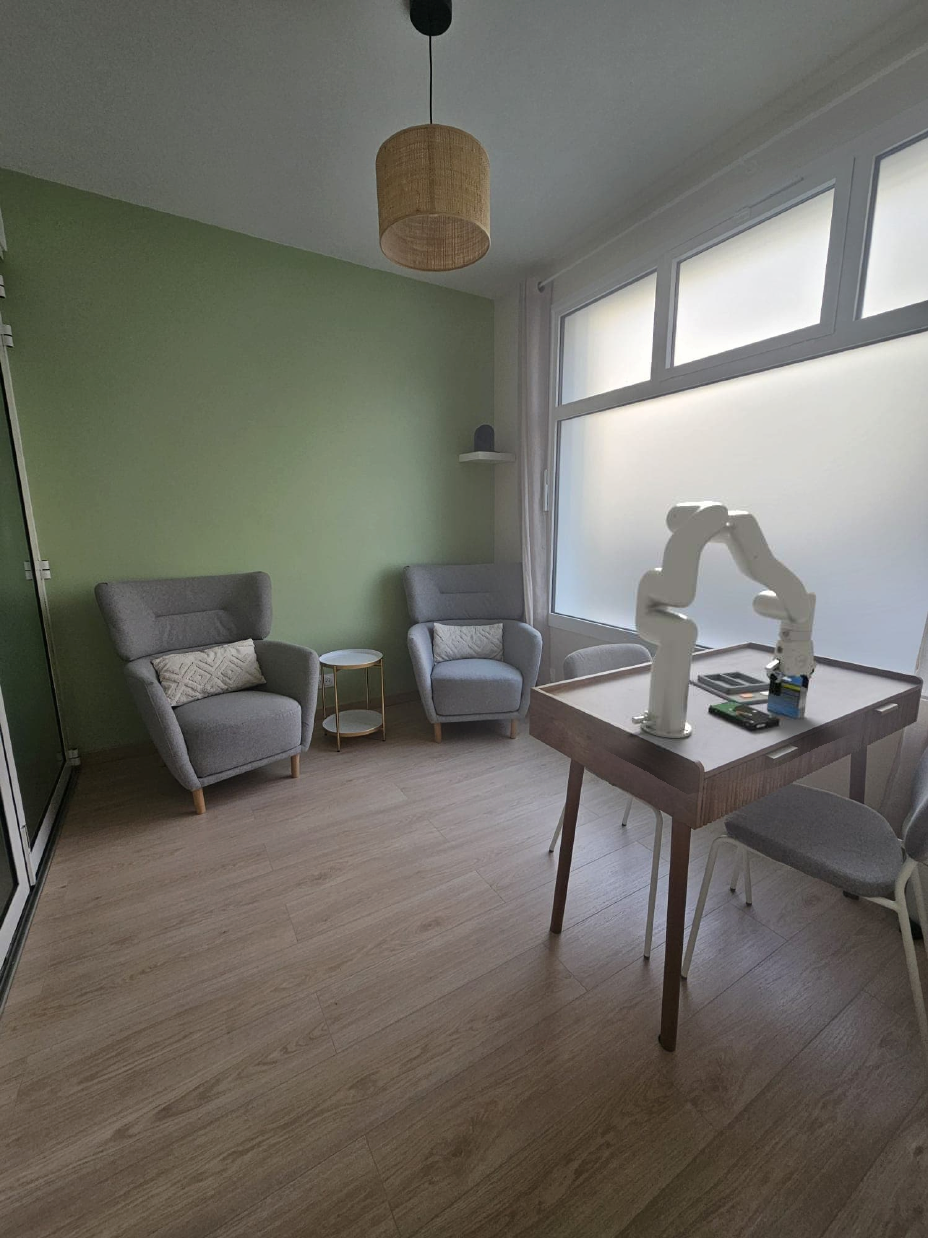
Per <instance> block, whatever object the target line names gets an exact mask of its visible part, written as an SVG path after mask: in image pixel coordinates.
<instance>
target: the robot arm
mask: <svg viewBox="0 0 928 1238" xmlns="http://www.w3.org/2000/svg"><path fill="white" fill-rule="evenodd" d="M665 518H666V519H665V523H666V526H667V527H666V528H668V530H669V531H670V533H671V534H672V535H671V536H670V537H669V539H668V540H667V542H666V544H665V546H664V550H663V557H662V563H661V567H655V568H651V569H649V570H648V571H646V572H645V573H644V574H643V575H642V577H641V579H640V580H639V583H638V586H637V594H636V605H635V607H636V608H635V619H634V620H635V621H634V622H635V623H634V624H635V625H634V627H635V630H636V631H635V632H636V633H637V635H638V636H639V637H640V638H641V639H642V640H645V642H648V643H651V644H653V645H656V646H657V647H658V648H657V650H656V652H655V653H654V656H653V658H652V660H651V666H650V678H649V679H650V683H649V694H648V695H649V696H648V707H647V708H648V710H644V713H643V714H641V716H639V715H637V716H633V717H631V724H633V725H639V724H640V726H641V728H642V729H643V730H644V731H645V732H647V733H649V734H651V735H654V736H657V737H661V738H666V739H669V738H670V739H682V738H686V737H688V736H690V735H691V734H692V726H691V725H690V724H689V723H688V722H687V715H688V700H689V689H690V683H689V681H690V680H691V679H690V678H691V667H692V660H693V656H694V655H693V654H694V651H695V647H696V644H697V641H698V635H699V630H698V626H697V624H696V623H695V622H694V621H693V620H692V618H690V617H689V616H687V615H685V614H682V613H679V612H675V611H671V610H668V609H669V608H672V609H673V608H674V609H685V608H688V607H690V606H691V605H692V604H693V602H694V600H695V598H696V594H697V586H698V575H699V567H700V566H699V565H700V560H701V556H702V552H703V550H704V548H705V547H706V545H707V544H708V543H714V544H725V545H726V547H727V549H728V551H729V553H730V554H731V556H732V558H733V560H734V562H735V565H736V566H737V568H738V569H737V570H739V572H740V573H741V574H742V575H744V576H745V577H746V578H748V579H750V580H751V581H754V582H756V583H758V584H759V585H761V586H763V587H765V588H767V589H768V590H765V591H762V592H759V593H758V594H756V595H755V596H754V598H753V599H752V603H751V604H752V610H753V611H754V612H755V613H756V614H757V615H759V616H760V617H764V618H766V619H771V620H777V621H780V624H779V625H780V626H779V632H778V638H777V641H776V645H775V648H774V653H773V659H772V662H771V663H769V664H768V665H766V666H765V668H764V670H765V672H766V676H767V678H768V680H769V683H770V689H769V693H771V694H773V695H776V696H780V694H781V685H782V683H781V682H780V681H781V680H782V679H784V678H785V677H784V676H787V677H791V676H797V677H801V678H803V679H802V685H801V686H802V687H804V688H806V689H807V693H808V692H809V684H810V680H811V678H812V675H813V674H814V673H815V669H816V668H817V665H818V662H817V661H815V659H814V657H815V656H814V655H815V654H814V652H815V651H814V642H813V641H814V640H813V639H812V633H813V626H814V618H815V610H816V602H817V596H816V594H815V593H814V592H812V591H809V590H806V588H805V587H806V586H805V585H804V584H803V582H802V581H801V580H800V578H799V577H798V576H797V575H796V574H795V573H794V572H793V571H791V570H790V568H788V567H787V566H786V565H784V563H782V562H781V561H780V560H778V559H777V558H776V557H775V556H774V554H773V552H772V550H771V547H770V546H769V544H768V541H767V540H766V537H765V535H764V533H763V530H762V529H761V527H760V525H759V523H758V520H757V518H756V517H755V516H754V515H753V514H752V513H750V512H748V511H741V510H736V511H735V510H730V511H729V510H728V508H727V507H726V505H724V504H723V503H720V502H714V501H700V502H684V503H683V502H681V503H678V504H675V505H674V506H673V507H671V508H670V509H669V511H668V512H667V514H666V517H665ZM777 674H779V676H778V677H776V675H777Z"/></svg>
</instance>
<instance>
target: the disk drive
mask: <svg viewBox="0 0 928 1238" xmlns="http://www.w3.org/2000/svg"><path fill="white" fill-rule="evenodd" d="M707 712H708V714H711V715H713V716H715V717H718V718H720V719H722V720H725V721H727V722H729V723H732V724H734V725H736V726H738V727H741V728H743V729H745V730H747V731H749V732H752V733H753V732H758V731H763V730H767V729H772V728H776V727H779V726H780V721H781V719H780V718H778V716H774V715H771V714H769V713H766V712H764V711H762V710H758V709H757V708H754V707H752V706H749V705H744V704H742V703H738V702H736V701H726V702H720V703H719V704H713V705H712V704H711V705H709V707H708V711H707Z"/></svg>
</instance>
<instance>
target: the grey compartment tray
mask: <svg viewBox="0 0 928 1238" xmlns="http://www.w3.org/2000/svg"><path fill="white" fill-rule="evenodd" d="M689 684H691V685H694V686H696V687H698V688H700V689H702V690H705V692H706V691H707V692H709V693H711V694H713V695H715V696H718V697H719V698H722V699H724V700H726V701H727V702H730V701H736V702H738V703H742V704H744V705H746V706H748V705H753V704H755V705H756V704H761V703H762V704H763V703H767V702H768V693H769V684H770V682H768V681H765V680H762V679H760V678H757V677H755V676H752V675H750V674H746V673H744V672H741V671H738V670H736V671H727V672H726V671H725V672H719V673H716V672H715V673H708V674H700V675H697V678H695V679H694V678H693V679H690V681H689Z"/></svg>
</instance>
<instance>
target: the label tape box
mask: <svg viewBox="0 0 928 1238" xmlns="http://www.w3.org/2000/svg"><path fill="white" fill-rule="evenodd" d="M778 676H779V674H777V675H776V677H778ZM785 677H787V676H784V677H783V678H782V680H781V681H780V682H781V683H782V685H781V694H780V696H776V695H773V694H771V693H768V702H766V704H767V705H766V709H767V710H768V711H771V712H774V713H777V714H781V715H785V716H787V717H790V718H793V719H797V720H799V719H801V718H804V717H805V713H806V705H807V704H806V703H807V696H808V692H807V689H806V688H804V687H802V686H801V685H802V679H803V678H801V677H798V676H791V677H787V679H785ZM788 679H790V680H788ZM769 689H770V684H769Z"/></svg>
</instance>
